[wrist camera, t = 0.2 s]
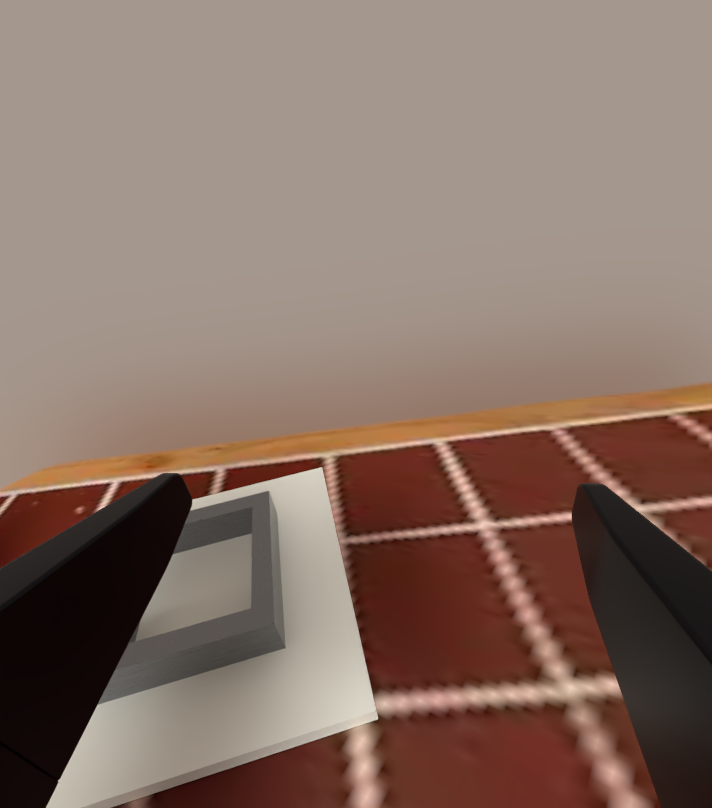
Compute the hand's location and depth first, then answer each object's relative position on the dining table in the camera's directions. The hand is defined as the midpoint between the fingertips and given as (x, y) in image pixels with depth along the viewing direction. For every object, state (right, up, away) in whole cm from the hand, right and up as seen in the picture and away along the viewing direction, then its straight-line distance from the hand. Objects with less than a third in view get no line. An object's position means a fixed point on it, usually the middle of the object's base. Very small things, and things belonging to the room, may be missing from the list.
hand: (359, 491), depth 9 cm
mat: (-10, -11, +17) cm, 22 cm away
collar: (-10, -11, +17) cm, 22 cm away
